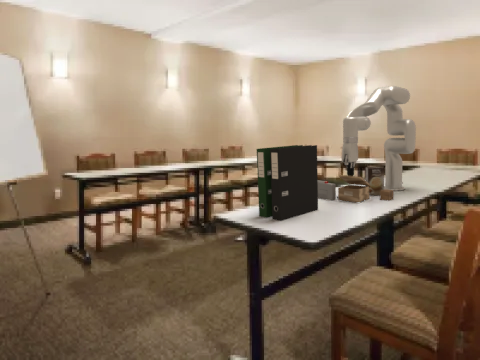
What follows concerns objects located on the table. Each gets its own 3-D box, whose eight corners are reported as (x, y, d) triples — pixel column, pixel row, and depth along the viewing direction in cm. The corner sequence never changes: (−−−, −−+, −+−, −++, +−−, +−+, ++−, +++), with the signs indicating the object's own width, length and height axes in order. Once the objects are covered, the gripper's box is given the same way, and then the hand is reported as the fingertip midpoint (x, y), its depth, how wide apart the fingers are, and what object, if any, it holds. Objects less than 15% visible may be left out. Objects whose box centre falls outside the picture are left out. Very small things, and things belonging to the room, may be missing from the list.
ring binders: (297, 206, 186) (296, 145, 182) (320, 210, 175) (319, 145, 170) (259, 216, 169) (256, 148, 165) (281, 221, 158) (279, 149, 153)
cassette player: (335, 199, 198) (335, 182, 196) (332, 200, 196) (332, 182, 195) (315, 196, 211) (315, 179, 209) (312, 196, 209) (311, 180, 208)
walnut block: (384, 198, 196) (384, 189, 195) (393, 199, 192) (393, 190, 192) (380, 199, 193) (380, 190, 192) (389, 200, 189) (389, 191, 188)
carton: (349, 196, 204) (349, 184, 203) (369, 198, 195) (369, 186, 194) (338, 200, 196) (338, 187, 195) (358, 202, 187) (358, 189, 186)
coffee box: (367, 195, 204) (367, 168, 202) (364, 193, 210) (365, 166, 208) (384, 195, 203) (384, 167, 201) (381, 193, 209) (381, 166, 207)
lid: (349, 184, 203) (349, 182, 203) (369, 185, 194) (370, 184, 195) (339, 176, 195) (339, 175, 195) (360, 178, 186) (361, 176, 186)
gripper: (350, 140, 196) (350, 173, 199) (336, 141, 186) (337, 176, 189) (363, 139, 191) (363, 173, 194) (350, 141, 181) (350, 177, 183)
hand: (350, 174), depth 191 cm, fingers closed
